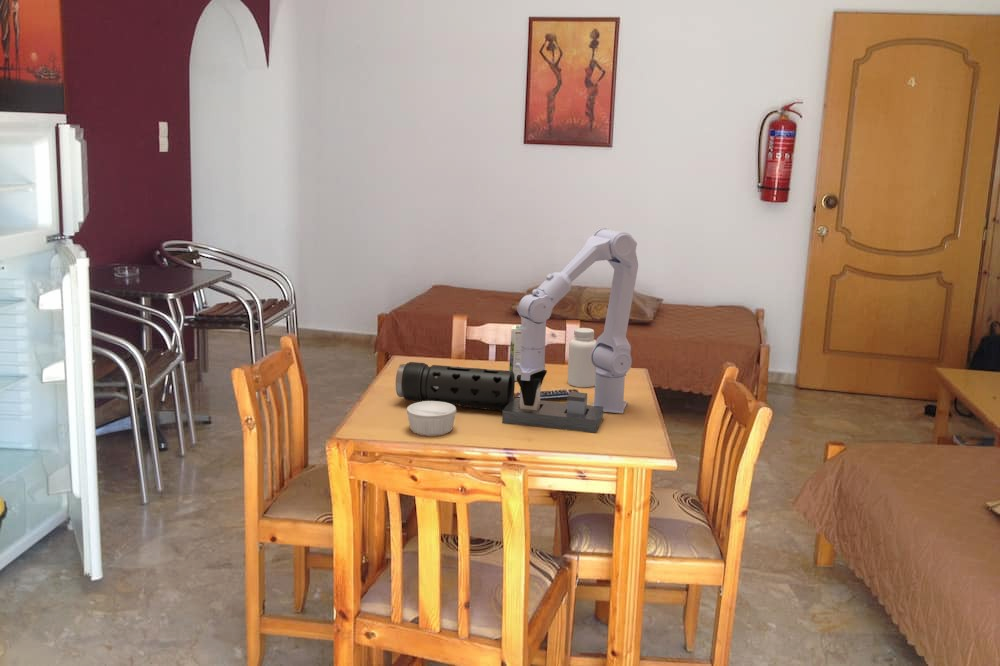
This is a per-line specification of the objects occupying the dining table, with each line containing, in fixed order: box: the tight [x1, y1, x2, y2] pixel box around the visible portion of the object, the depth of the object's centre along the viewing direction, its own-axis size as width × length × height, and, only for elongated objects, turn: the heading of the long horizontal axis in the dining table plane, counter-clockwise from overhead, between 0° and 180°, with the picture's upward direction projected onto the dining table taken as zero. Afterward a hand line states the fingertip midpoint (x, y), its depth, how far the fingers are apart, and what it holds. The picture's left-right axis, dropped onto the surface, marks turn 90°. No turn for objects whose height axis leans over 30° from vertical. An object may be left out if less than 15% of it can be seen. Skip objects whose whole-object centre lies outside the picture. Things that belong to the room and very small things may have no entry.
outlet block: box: [501, 397, 604, 434], centre depth 223 cm, size 11×22×3 cm, turn 76°
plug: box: [519, 381, 542, 410], centre depth 223 cm, size 4×4×7 cm
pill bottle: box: [567, 327, 597, 388], centre depth 254 cm, size 8×8×15 cm
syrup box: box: [508, 324, 521, 382], centre depth 257 cm, size 6×6×14 cm
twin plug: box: [566, 391, 588, 415], centre depth 221 cm, size 4×4×7 cm
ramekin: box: [406, 401, 457, 437], centre depth 214 cm, size 11×11×5 cm
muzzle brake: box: [395, 361, 516, 411], centre depth 232 cm, size 10×28×10 cm, turn 78°
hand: (530, 402), depth 224 cm, fingers closed on plug, 4 cm apart
